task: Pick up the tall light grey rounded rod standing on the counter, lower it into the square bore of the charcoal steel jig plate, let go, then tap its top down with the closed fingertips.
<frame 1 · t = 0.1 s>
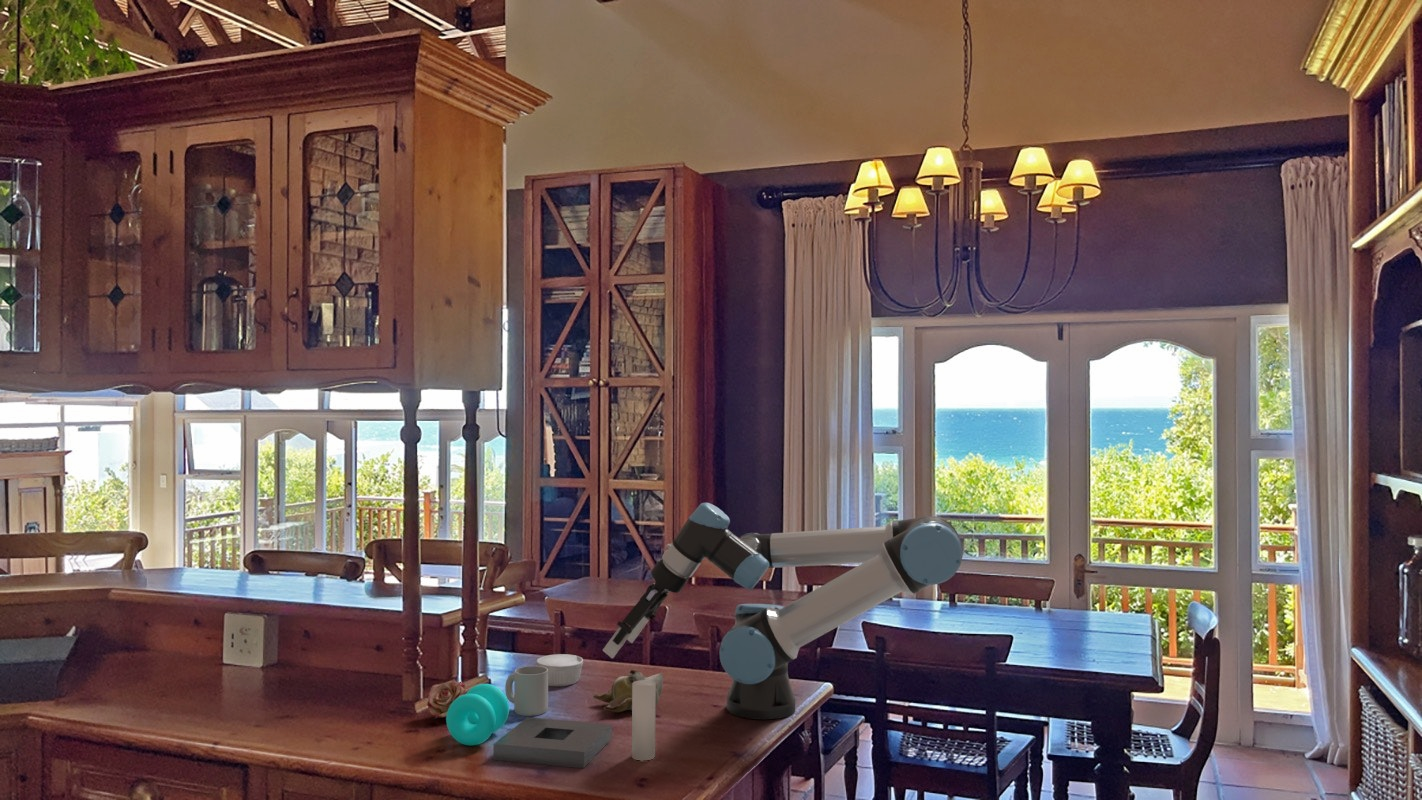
hand: (617, 646, 207), 15 cm above the kitchen island, fingers open, 13 cm apart
light grey rounded rod: (643, 757, 184), on the kitchen island
jig: (554, 749, 188), on the kitchen island
ramekin: (559, 682, 234), on the kitchen island
cup: (525, 711, 211), on the kitchen island
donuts: (477, 740, 193), on the kitchen island
flower: (446, 719, 206), on the kitchen island
ceramic sculpture: (631, 709, 214), on the kitchen island
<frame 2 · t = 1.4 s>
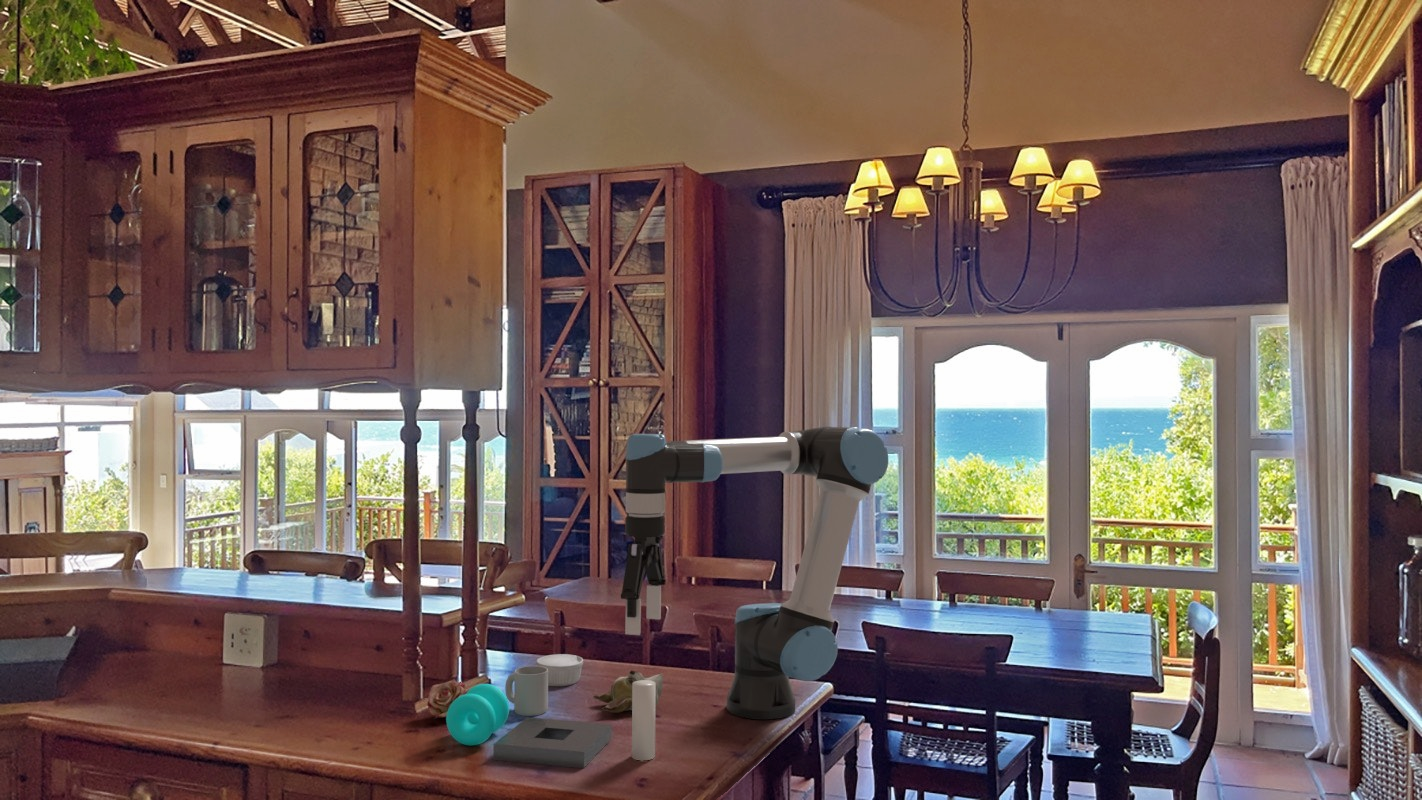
hand: (643, 626, 184), 25 cm above the kitchen island, fingers open, 13 cm apart
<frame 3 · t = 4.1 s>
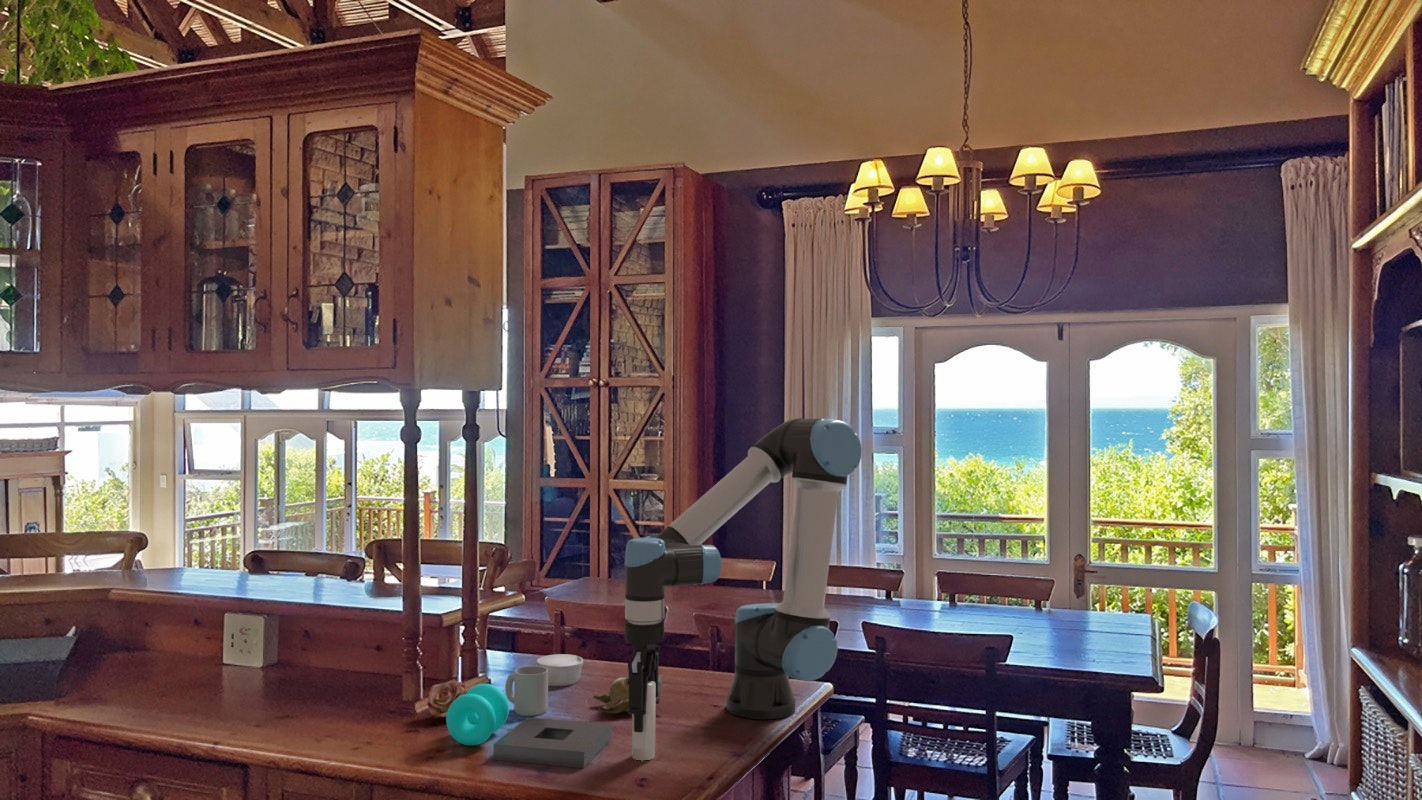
hand: (643, 742, 184), 3 cm above the kitchen island, fingers closed on light grey rounded rod, 4 cm apart
light grey rounded rod: (643, 757, 184), on the kitchen island, touching gripper
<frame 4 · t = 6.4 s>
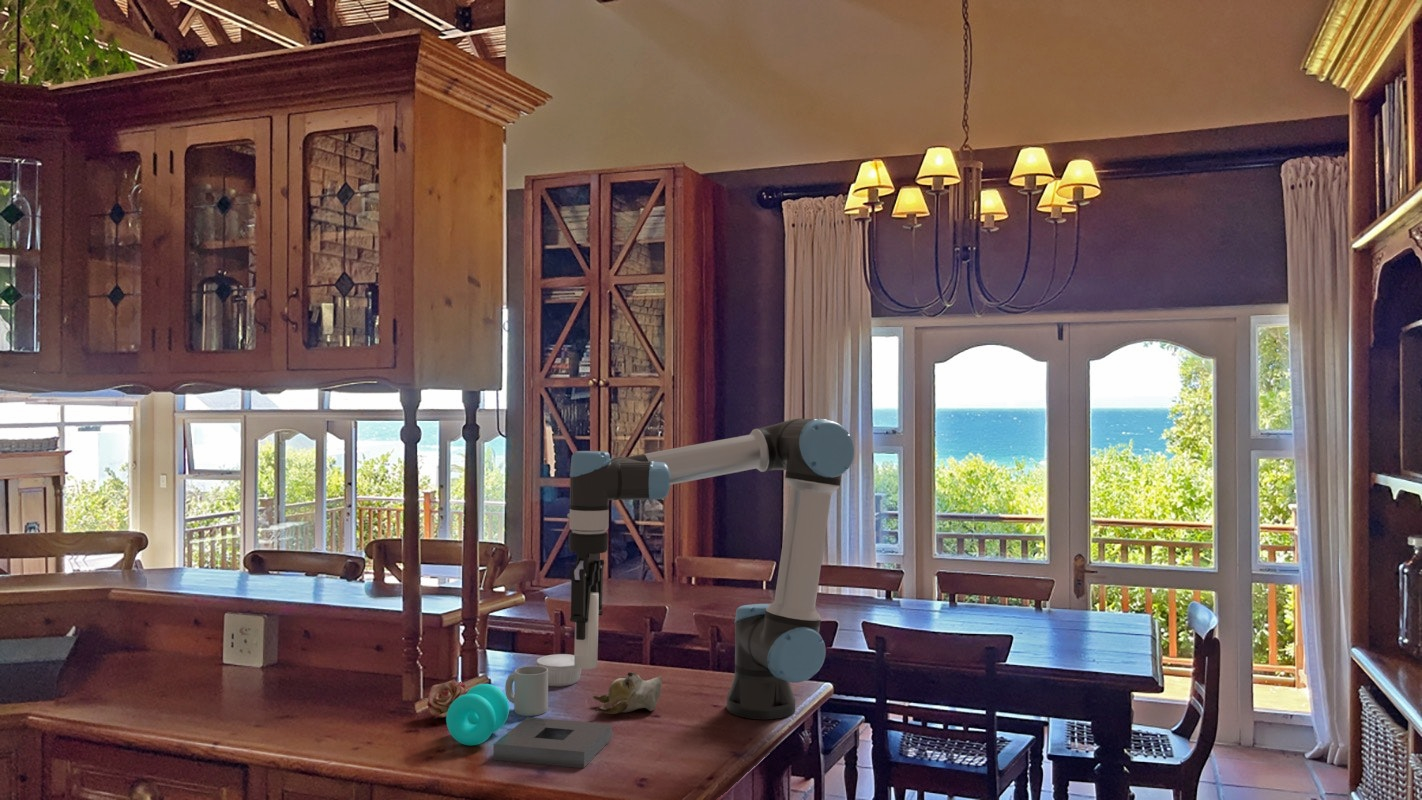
hand: (586, 652, 186), 19 cm above the kitchen island, fingers closed on light grey rounded rod, 4 cm apart
light grey rounded rod: (585, 666, 186), point 17 cm above the kitchen island, touching gripper
when the fingers open (5 cm above the kitchen island, at t = 9.0 s): light grey rounded rod drops 2 cm, resting in jig.
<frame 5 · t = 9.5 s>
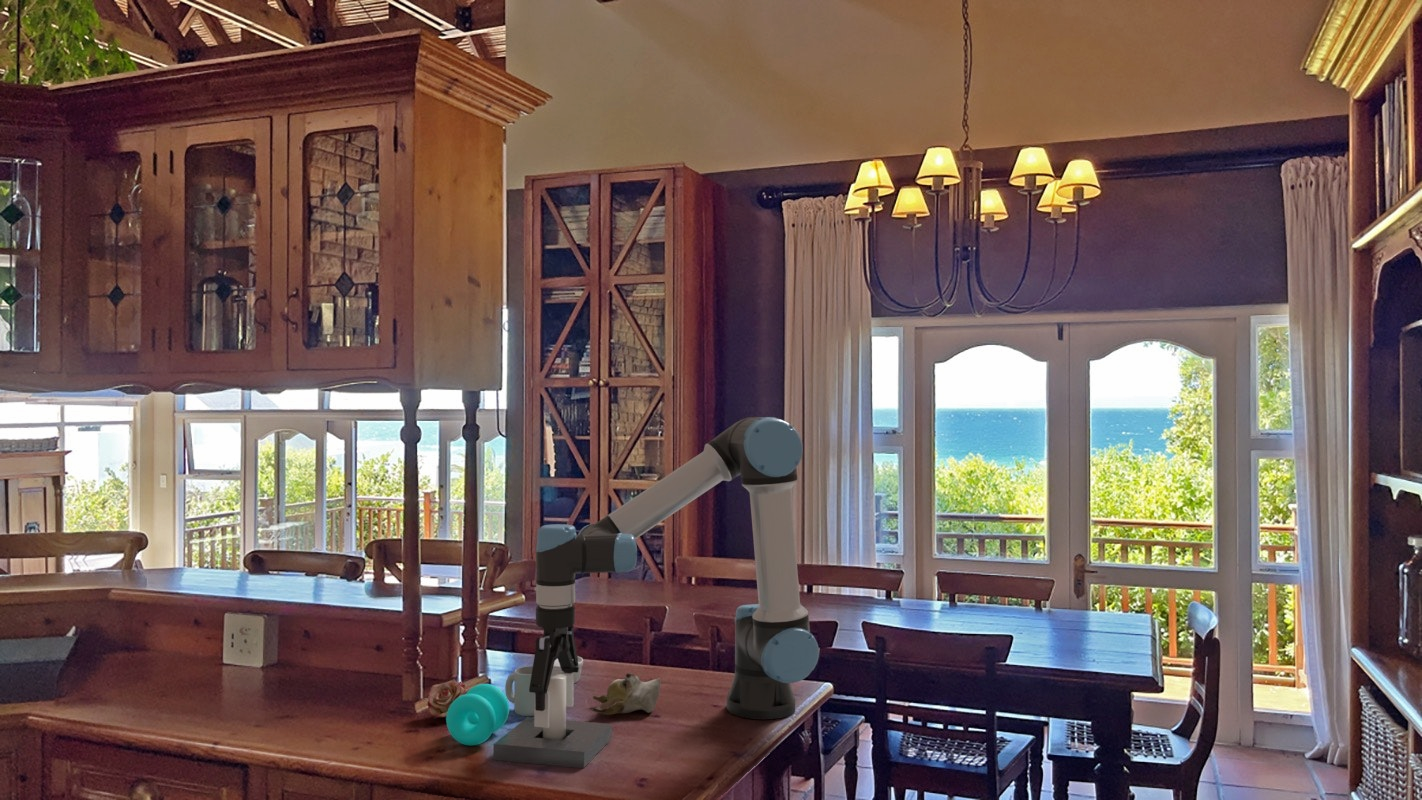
hand: (554, 716, 188), 6 cm above the kitchen island, fingers open, 12 cm apart
light grey rounded rod: (554, 749, 188), resting in jig
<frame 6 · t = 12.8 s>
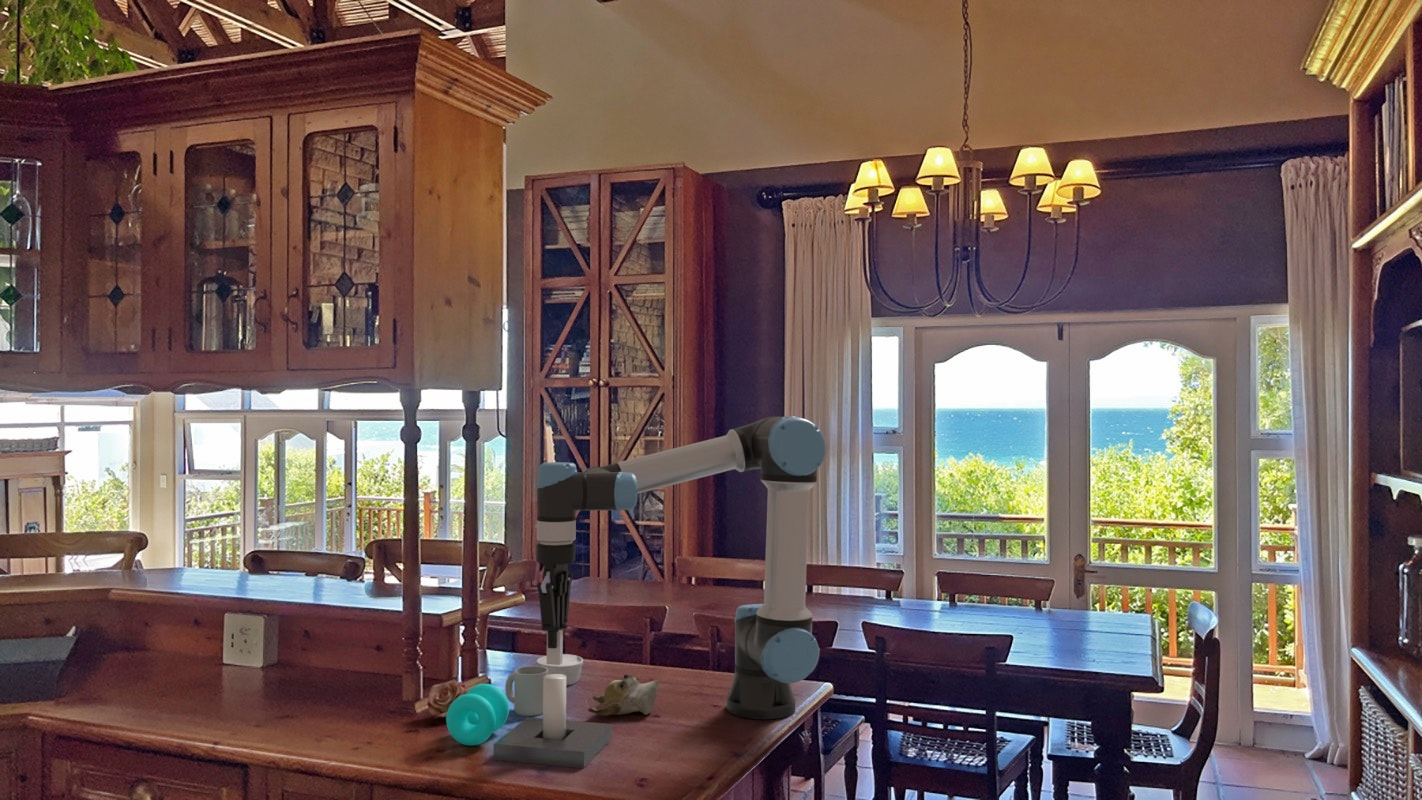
hand: (554, 663, 188), 17 cm above the kitchen island, fingers closed
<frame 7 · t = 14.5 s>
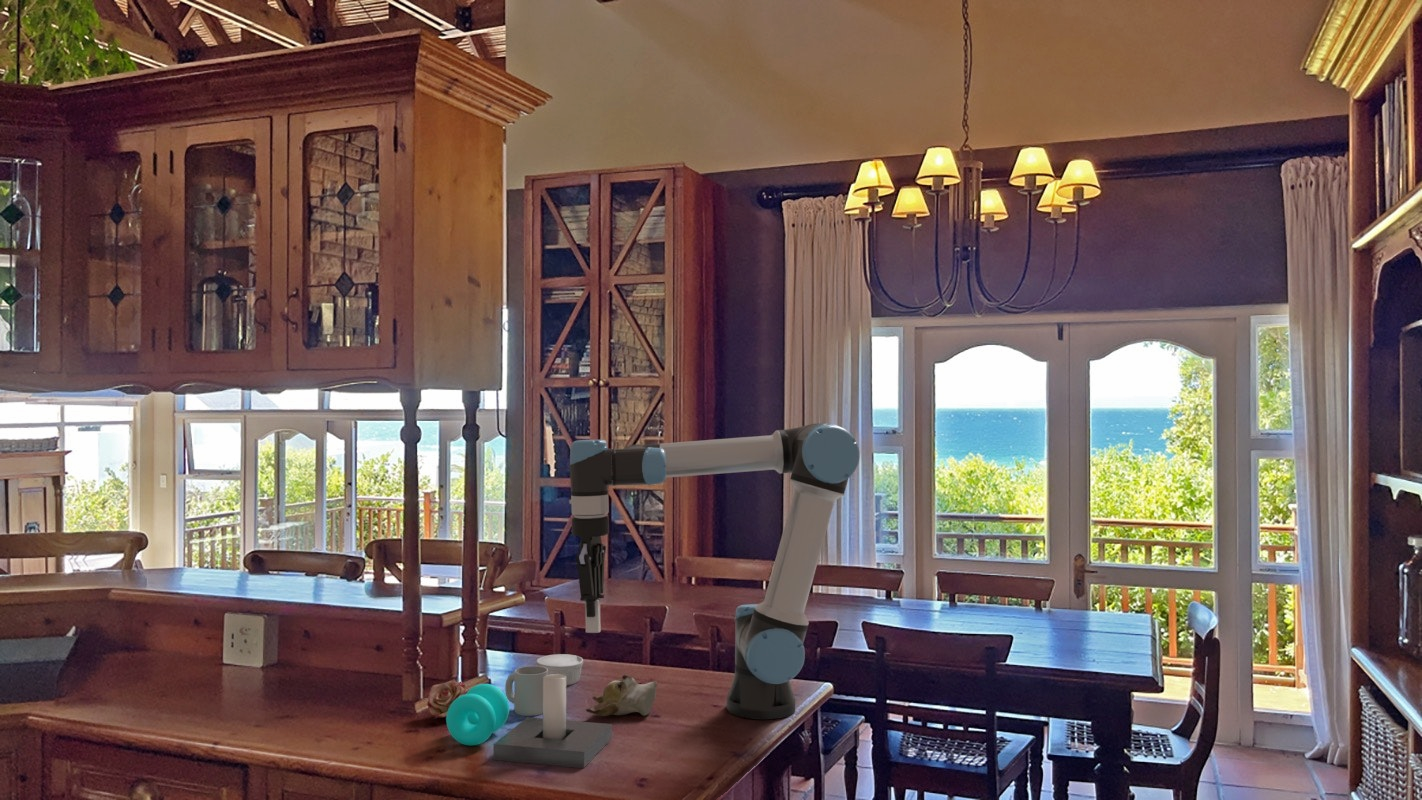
hand: (593, 631, 196), 21 cm above the kitchen island, fingers closed
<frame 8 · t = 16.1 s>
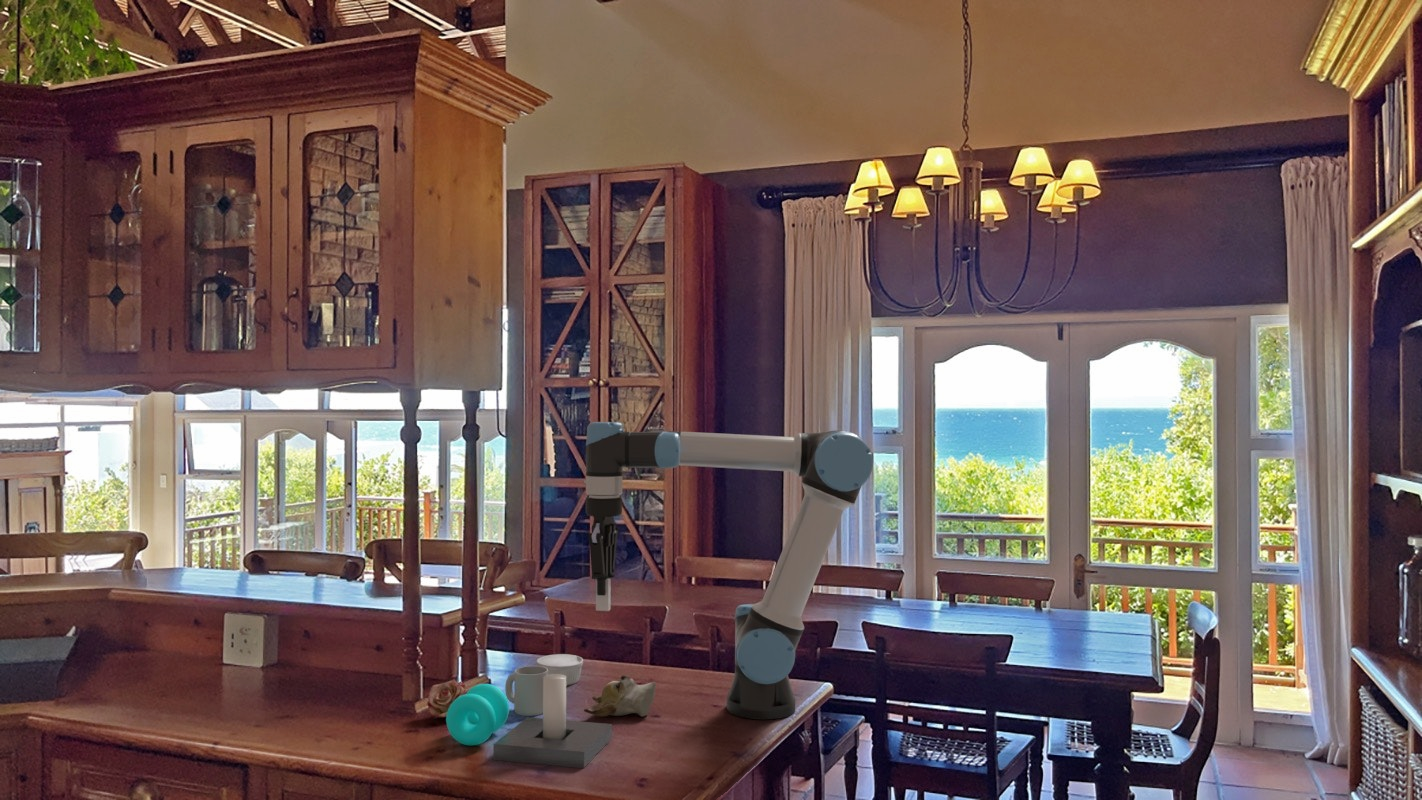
hand: (603, 609, 200), 24 cm above the kitchen island, fingers closed
at the end: light grey rounded rod 0.0 cm off-centre on the jig, point 0.0 cm above the jig's base; light grey rounded rod tilted 0°; the gripper is holding nothing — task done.
